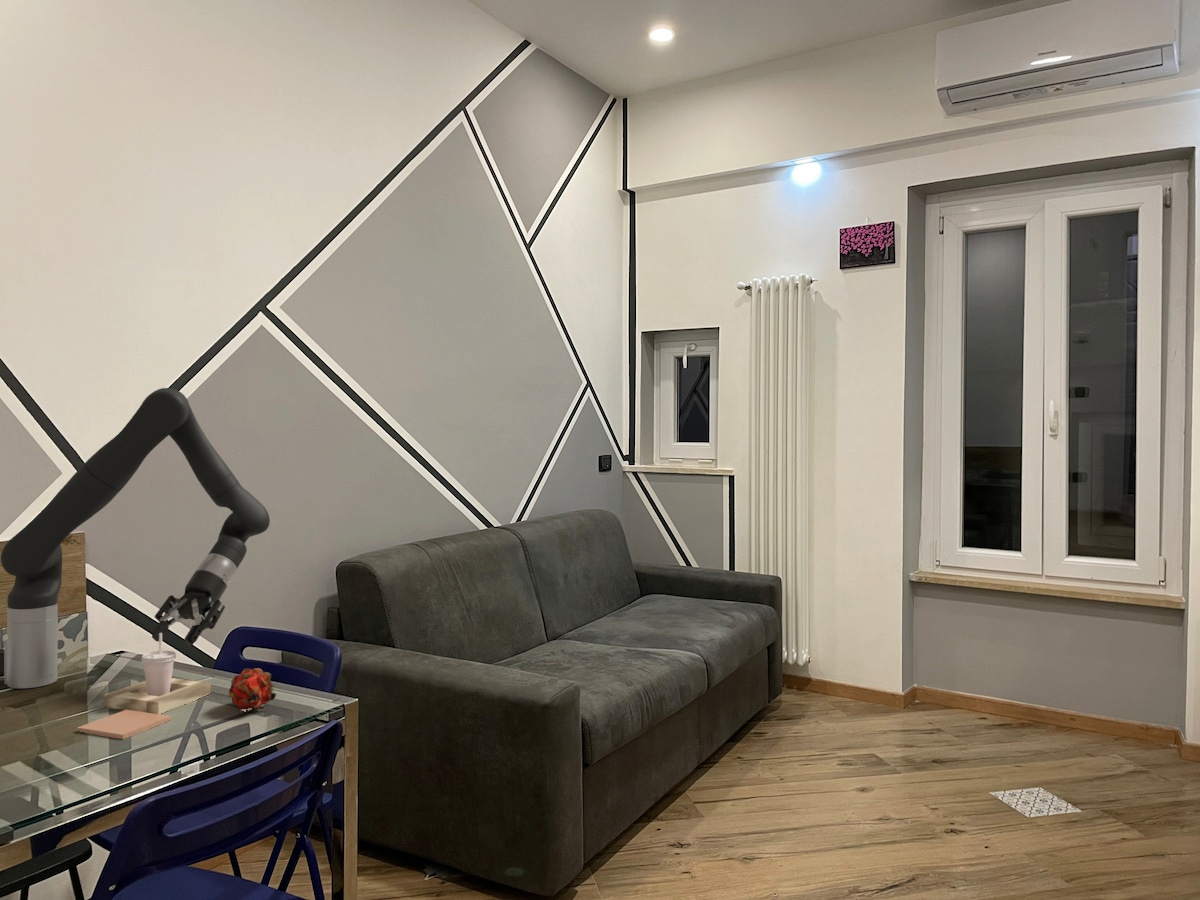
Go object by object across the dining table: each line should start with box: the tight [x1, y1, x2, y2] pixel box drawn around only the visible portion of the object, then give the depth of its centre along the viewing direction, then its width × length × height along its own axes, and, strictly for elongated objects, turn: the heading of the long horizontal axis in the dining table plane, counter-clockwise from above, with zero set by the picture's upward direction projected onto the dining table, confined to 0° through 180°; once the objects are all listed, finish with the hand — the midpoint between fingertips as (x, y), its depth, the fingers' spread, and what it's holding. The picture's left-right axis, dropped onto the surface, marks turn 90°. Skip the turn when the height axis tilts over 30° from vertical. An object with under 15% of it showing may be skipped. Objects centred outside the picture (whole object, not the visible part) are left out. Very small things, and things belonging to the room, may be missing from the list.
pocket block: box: [103, 677, 212, 715], centre depth 178 cm, size 14×14×2 cm
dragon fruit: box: [228, 667, 277, 713], centre depth 174 cm, size 8×8×12 cm
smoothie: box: [140, 633, 177, 696], centre depth 178 cm, size 6×6×14 cm
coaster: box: [76, 710, 172, 740], centre depth 163 cm, size 11×11×1 cm
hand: (171, 641), depth 181 cm, fingers open, 8 cm apart
